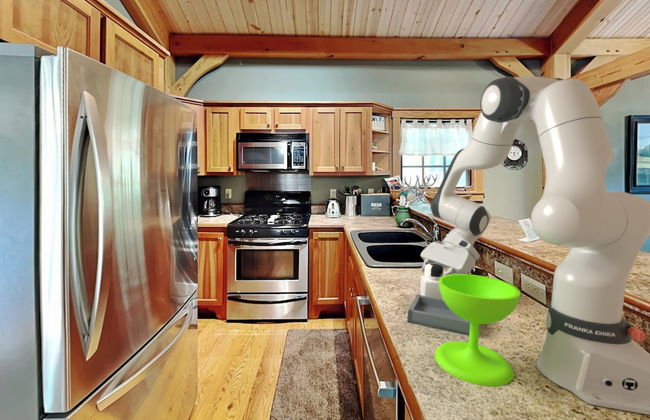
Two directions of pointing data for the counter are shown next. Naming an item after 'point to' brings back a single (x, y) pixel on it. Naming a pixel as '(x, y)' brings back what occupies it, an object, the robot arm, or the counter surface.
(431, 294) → the medicine bottle
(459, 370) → the wineglass
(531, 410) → the counter surface
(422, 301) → the parts tray
